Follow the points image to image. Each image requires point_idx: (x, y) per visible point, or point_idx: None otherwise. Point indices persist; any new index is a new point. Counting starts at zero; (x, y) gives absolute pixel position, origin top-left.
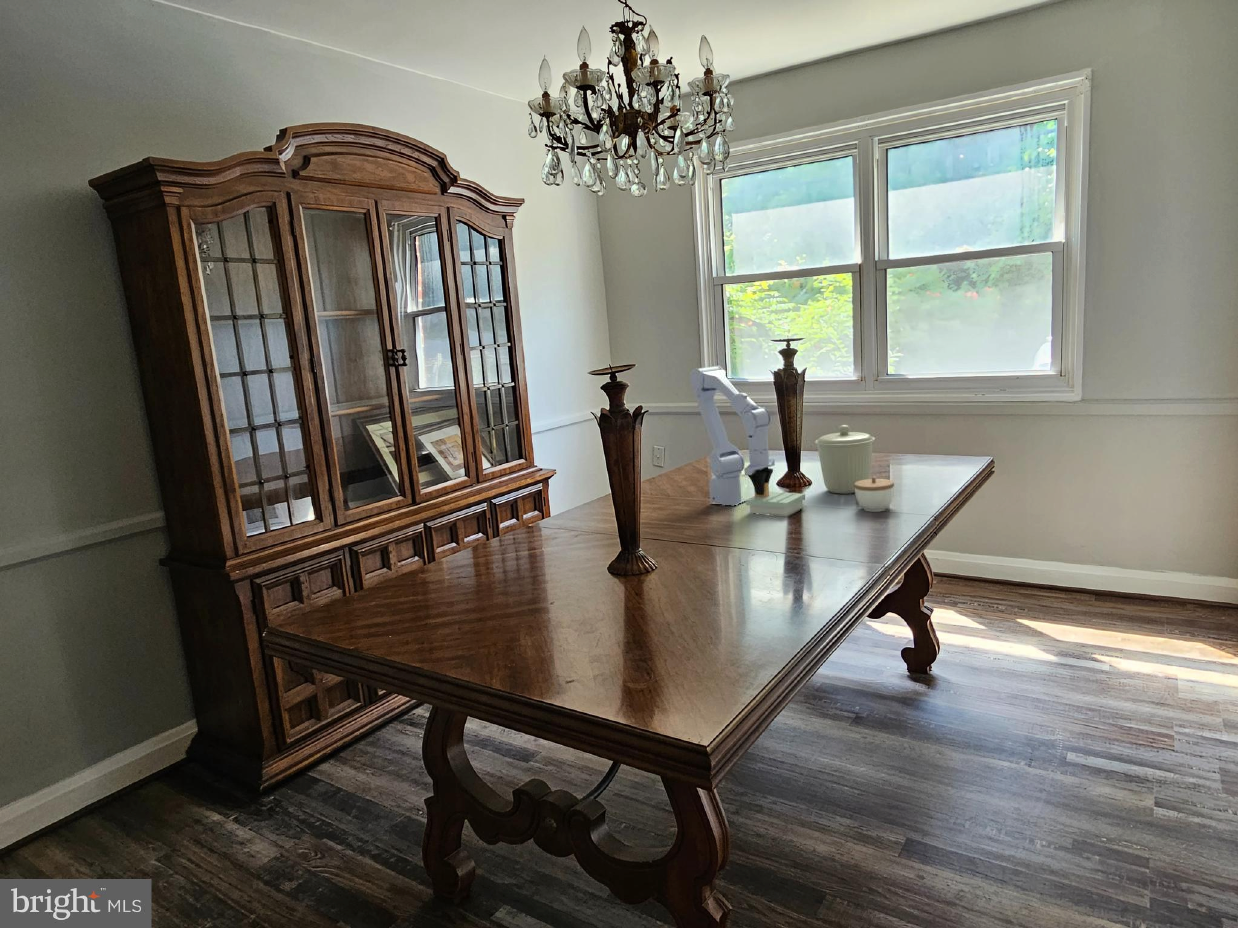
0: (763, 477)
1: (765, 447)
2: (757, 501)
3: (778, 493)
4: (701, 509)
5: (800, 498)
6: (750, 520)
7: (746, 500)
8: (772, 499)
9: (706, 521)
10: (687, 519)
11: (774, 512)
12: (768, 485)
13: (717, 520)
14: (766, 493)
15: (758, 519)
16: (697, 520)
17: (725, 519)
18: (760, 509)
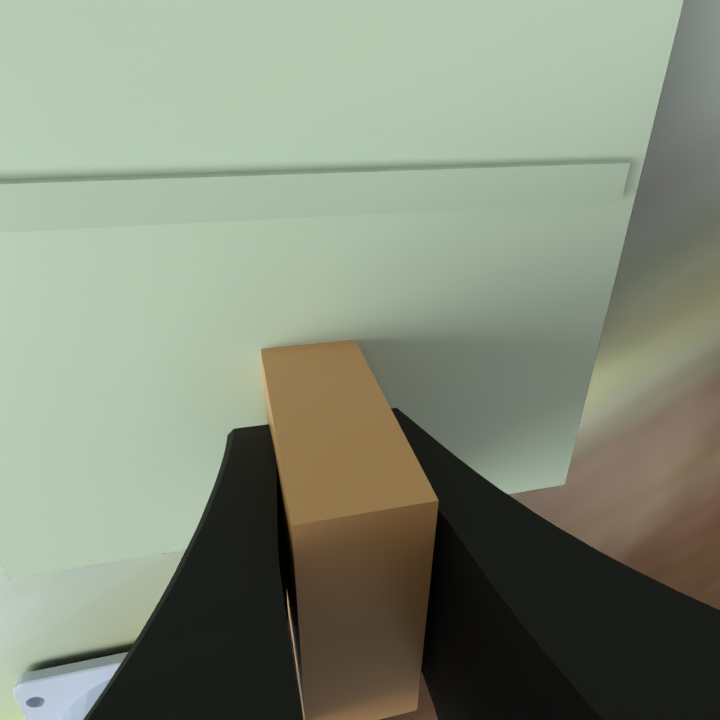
0: (710, 654)
1: None
2: (595, 324)
3: (3, 297)
4: (414, 716)
5: None
6: (700, 217)
7: (560, 473)
8: (504, 134)
9: (710, 508)
10: None
11: None
12: (286, 472)
13: (688, 466)
14: (364, 371)
15: (665, 155)
16: (683, 566)
17: (661, 435)
18: None
